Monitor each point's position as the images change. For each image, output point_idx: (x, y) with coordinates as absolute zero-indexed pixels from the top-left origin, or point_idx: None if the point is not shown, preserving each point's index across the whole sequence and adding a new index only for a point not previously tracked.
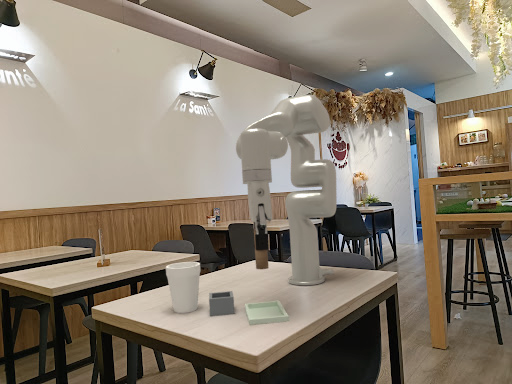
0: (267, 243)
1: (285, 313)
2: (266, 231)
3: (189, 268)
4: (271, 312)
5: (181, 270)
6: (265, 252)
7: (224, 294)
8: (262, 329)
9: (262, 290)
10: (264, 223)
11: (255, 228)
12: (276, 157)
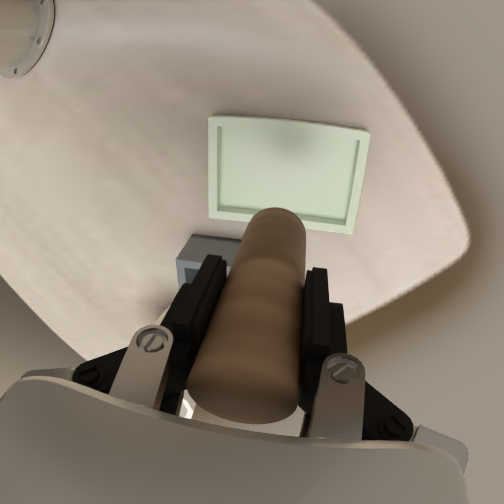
0: (327, 295)
1: (345, 133)
2: (363, 377)
3: (187, 398)
4: (276, 152)
5: (194, 407)
6: (301, 266)
7: (187, 276)
8: (375, 202)
9: (59, 143)
10: (462, 453)
11: (178, 403)
12: None
